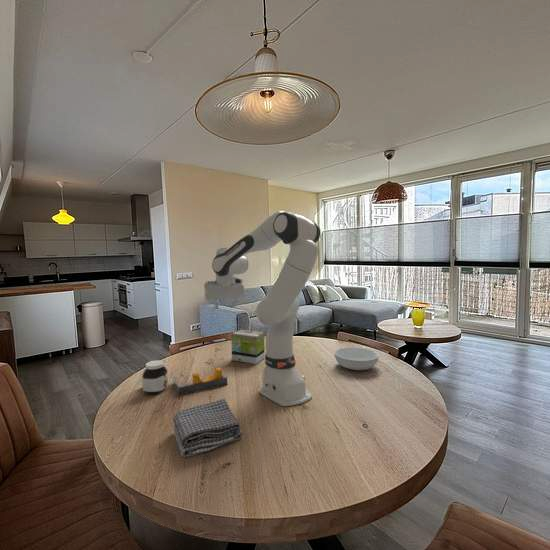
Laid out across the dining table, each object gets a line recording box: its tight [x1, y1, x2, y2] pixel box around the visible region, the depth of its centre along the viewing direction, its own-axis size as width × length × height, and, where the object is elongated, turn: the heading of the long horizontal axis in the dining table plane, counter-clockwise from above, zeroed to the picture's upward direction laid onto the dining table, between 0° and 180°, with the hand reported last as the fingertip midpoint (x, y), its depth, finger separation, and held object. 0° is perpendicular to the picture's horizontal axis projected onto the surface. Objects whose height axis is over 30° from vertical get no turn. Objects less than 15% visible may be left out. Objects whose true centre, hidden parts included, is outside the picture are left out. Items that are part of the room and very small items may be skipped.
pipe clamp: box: [192, 367, 223, 384], centre depth 127 cm, size 12×4×6 cm, turn 124°
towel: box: [172, 398, 244, 459], centre depth 91 cm, size 15×18×8 cm
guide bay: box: [172, 372, 228, 396], centre depth 128 cm, size 13×20×3 cm, turn 118°
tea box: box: [230, 329, 265, 365], centre depth 157 cm, size 15×10×15 cm, turn 67°
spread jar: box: [140, 360, 169, 395], centre depth 123 cm, size 12×11×12 cm
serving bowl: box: [334, 346, 379, 371], centre depth 146 cm, size 21×21×7 cm
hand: (225, 307), depth 150 cm, fingers open, 8 cm apart
